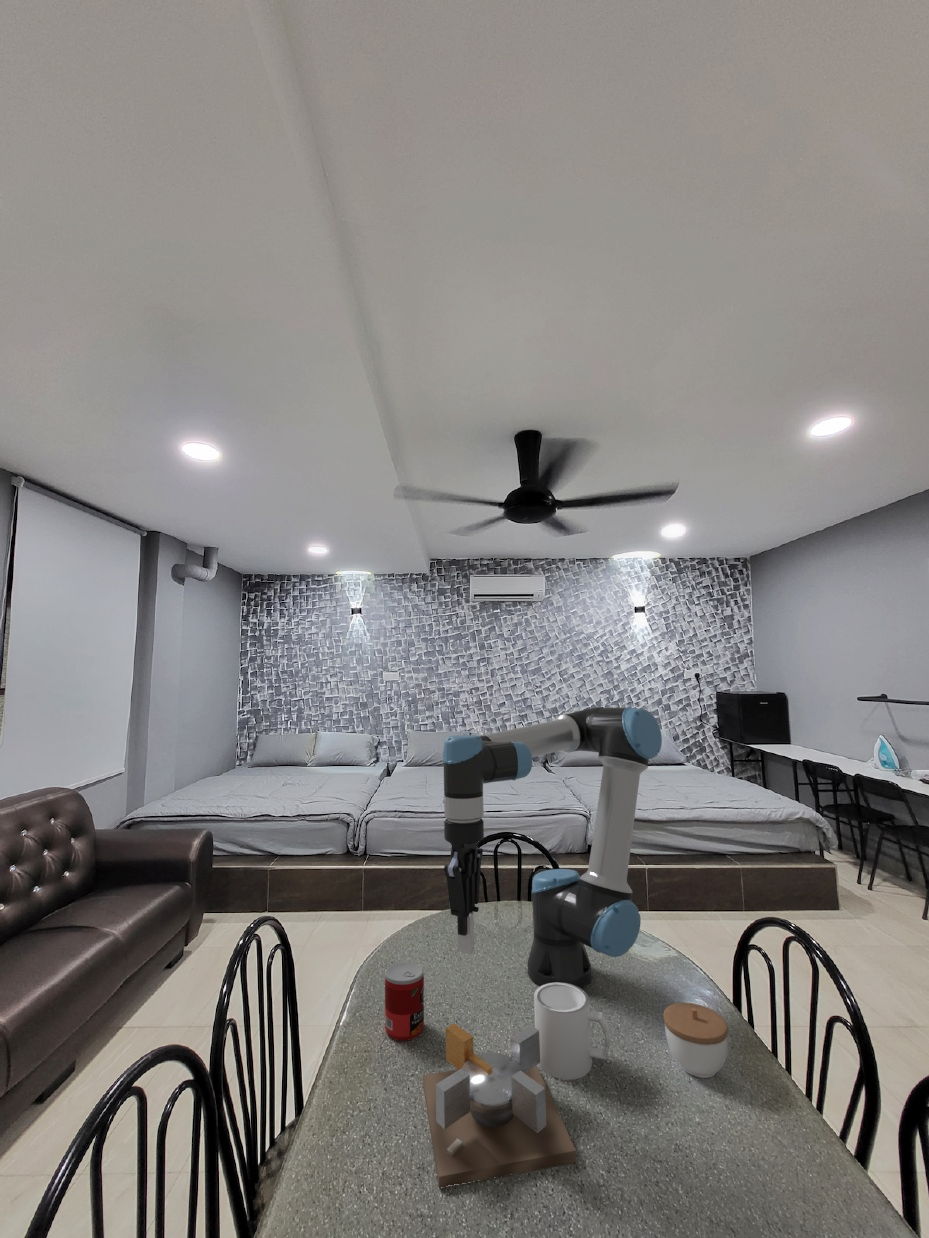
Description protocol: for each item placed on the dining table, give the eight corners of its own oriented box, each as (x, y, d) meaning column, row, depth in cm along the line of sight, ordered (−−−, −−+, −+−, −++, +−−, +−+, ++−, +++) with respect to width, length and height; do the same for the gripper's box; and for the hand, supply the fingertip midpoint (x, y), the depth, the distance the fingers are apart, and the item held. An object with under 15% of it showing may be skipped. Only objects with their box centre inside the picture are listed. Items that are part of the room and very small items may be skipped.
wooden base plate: (533, 1066, 96) (532, 1042, 97) (576, 1161, 77) (575, 1131, 77) (423, 1084, 93) (422, 1059, 93) (439, 1188, 73) (438, 1156, 74)
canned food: (418, 1043, 103) (417, 982, 105) (379, 1039, 105) (379, 979, 106) (428, 1019, 111) (428, 963, 112) (392, 1016, 112) (392, 959, 114)
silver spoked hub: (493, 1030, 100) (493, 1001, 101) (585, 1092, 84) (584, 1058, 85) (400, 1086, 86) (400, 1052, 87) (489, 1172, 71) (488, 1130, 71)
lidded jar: (726, 1052, 99) (722, 998, 100) (735, 1093, 89) (730, 1032, 90) (665, 1041, 103) (662, 988, 104) (666, 1080, 93) (663, 1021, 94)
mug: (612, 1050, 100) (609, 989, 102) (609, 1088, 91) (606, 1020, 92) (540, 1037, 105) (538, 978, 106) (531, 1073, 95) (529, 1008, 96)
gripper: (460, 809, 109) (461, 932, 106) (430, 824, 97) (431, 963, 94) (494, 812, 106) (497, 939, 103) (467, 828, 94) (470, 971, 91)
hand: (465, 950), depth 99 cm, fingers closed
